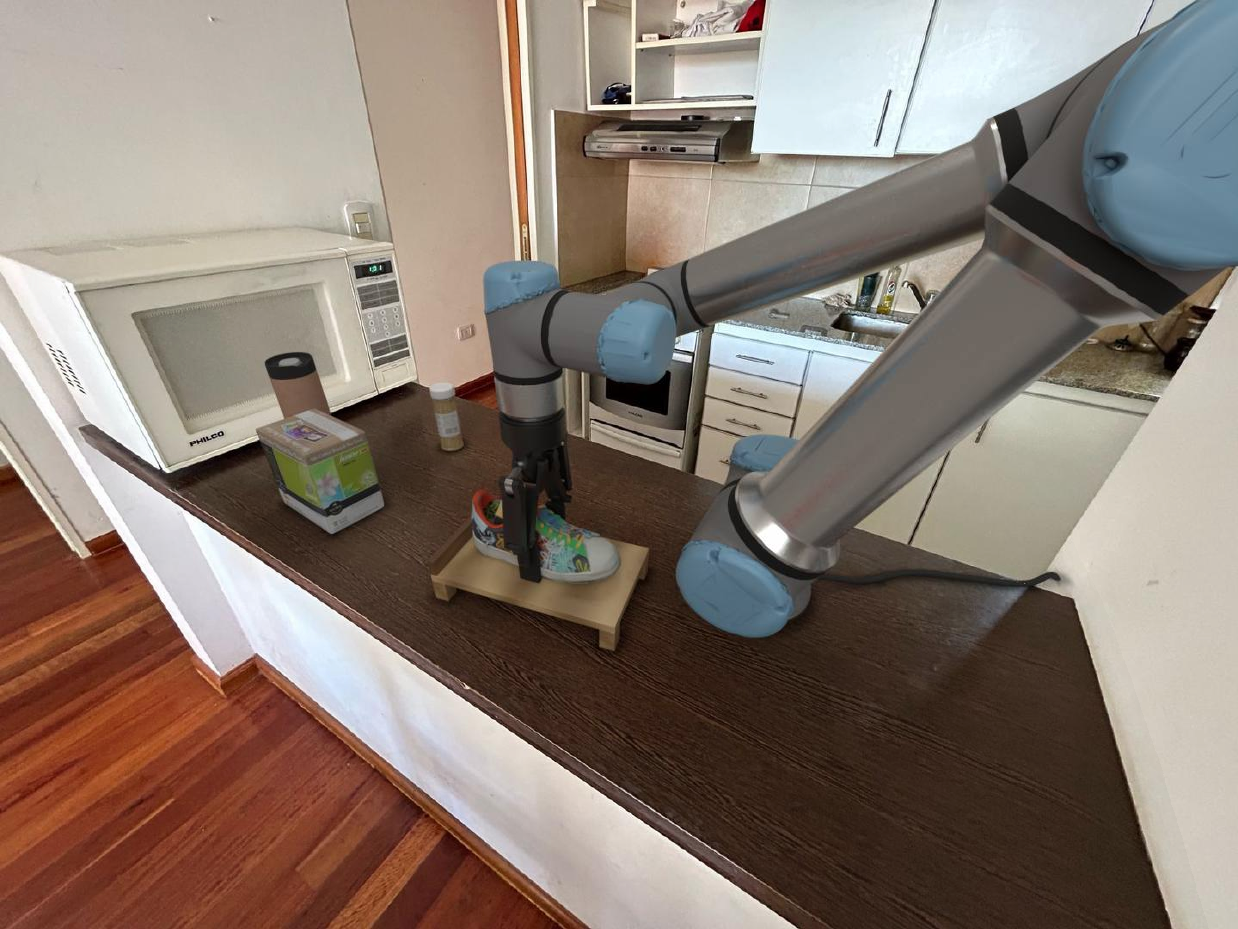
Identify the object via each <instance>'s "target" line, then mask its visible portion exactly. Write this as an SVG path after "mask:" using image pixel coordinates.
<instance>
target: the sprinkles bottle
mask: <svg viewBox="0 0 1238 929" xmlns="http://www.w3.org/2000/svg"><path fill="white" fill-rule="evenodd" d="M428 391H429V397H430V399H431V401H432V406H433V411H434V417H435V422H436V427H437V432H438V436H439V441H440V448H441V450H443V451H446V452H455V451H457V450H460V449H462V448H463V447H464V441H463V435H462V428H461V423H460V422H461V420H460V417H459V413H458V406H457V401H456V390H455V385H454V384H453V383H451V382H447V381H442V382H441V381H440V382H436V383H434V384H432V385H430V386H429V390H428Z"/></svg>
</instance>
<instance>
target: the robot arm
mask: <svg viewBox="0 0 1238 929" xmlns="http://www.w3.org/2000/svg"><path fill="white" fill-rule="evenodd" d="M980 240H983V241H982V244H981V247H980V248H979V249H978V250H977V252H976V253H974V255H973V256H972V257H971V258H970V259H969V260H968V261H967V262H966V263H965V264H964V266H963V267H961V268H960V270H958V271H957V273H956V274H955V275H954V276H953V277H952V278H951V279H950V280H949V281H948V282H947V283H946V284H945V286H944V287H942V288H941V290H940V291H939V292H938V293H937V294H936V295H935V296H934V297H933V298H932V299H931V300H930V301H929V302H928V303H927V305H926V306H924V308H923V309H922V310H921V311H920V312H919V313H918V314H917V315H916V316H915V317H914V318H913V319H912V320H911V321H910V323H908V325H907V326H906V327H905V328H904V329H903V330H902V331H901V332H900V333H899V334H898V335H897V336H896V337H895V338H894V339H893V340H892V341H891V343H890V344H889V345H888V346H887V347H886V348H885V349H884V350H883V351H882V352H881V353H880V354H879V356H877V357H876V358H875V359H874V361H873V362H872V363H871V364H870V365H869V366H868V367H867V368H866V369H865V370H864V371H863V372H862V373H861V374H860V375H859V376H858V378H857V379H855V381H853V383H852V384H851V385H850V386H849V387H848V388H847V389H846V390H845V391H844V392H843V394H842V395H841V396H840V397H839V398H838V399H837V400H836V401H835V402H834V403H833V404H832V405H831V406H830V408H828V409H827V410H826V411H825V412H824V414H823V415H822V416H821V417H819V419H818V420H816V422H815V423H814V424H813V426H811V427H810V428H809V430H808V431H806V433H805V434H804V435H803V436H802V437H801V438H800V439H797V438H793V437H789V436H786V435H785V436H784V435H779V434H765V433H764V434H750V435H747V436H744V437H742V438H740V439H738V440H737V441H736V442H735V443H734V444H733V447H732V450H731V454H730V455H729V456H728V457H729V458H728V460H729V467H728V468H729V470H728V472H727V476H726V479H725V481H724V483H723V484H722V486H721V487H720V490H719V491H718V493H717V494H716V497H715V498H714V499H713V501H712V503H711V504H710V506H709V508H708V509H707V511H706V512H705V513H704V516H703V517H702V519H701V521H700V522H699V524H698V525H697V527H696V529H695V530H694V533H693V534H691V537H690V539H689V540H688V542H687V543H686V544H685V545H684V546H683V547H682V549H681V553H680V557H679V559H678V561H677V564H676V567H675V581H676V583H677V586H678V587H679V591H680V594H681V596H682V599H684V601H685V602H686V604H687V605H688V606H689V607H690V608H691V610H692V611H694V612H695V614H696V615H698V616H699V617H700V618H702V619H703V620H704V621H705V622H707V623H708V624H710V625H712V626H714V627H715V628H717V629H719V630H721V631H724V632H726V633H728V634H734V635H738V636H740V637H744V638H754V639H755V638H756V639H757V638H765V637H769V636H772V635H774V634H777V633H778V632H779V631H781V630H782V629H783V628H784V627H787V626H788V625H792V624H794V623H795V622H797V621H798V620H799V619H801V617H803V615H804V614H805V612H806V611H807V609H808V606H809V603H810V599H811V595H812V584H813V583H814V582H815V581H816V580H817V581H819V580H820V581H829V582H838V583H844V584H850V585H851V584H852V585H866V584H868V585H869V584H875V583H879V582H883V581H888V580H891V579H895V578H901V577H930V578H940V579H946V580H947V579H948V580H955V581H962V582H964V581H965V582H972V583H981V584H988V585H994V586H995V585H996V586H1002V587H1012V588H1013V587H1014V588H1027V587H1034V586H1038V585H1040V584H1043V583H1045V582H1046V581H1048V580H1050V579H1052V580H1054V581H1057V582H1060V581H1061V580H1062V578H1061V576H1060V575H1059V573H1057V572H1055V571H1047V572H1044V573H1041V574H1040V575H1038V576H1035V577H1034V578H1031V579H1023V580H1021V579H1020V580H1017V579H1016V581H1013V580H1014V579H1005V578H1004V579H1003V578H997V577H996V578H995V577H989V576H982V575H975V574H965V573H964V574H963V573H957V572H956V573H955V572H947V571H941V570H940V571H939V570H932V569H931V570H930V569H900V570H893V571H890V572H889V571H888V572H885V573H881V574H877V575H872V576H866V577H865V576H864V577H854V576H853V577H852V576H846V575H840V574H832V573H827V572H828V571H830V570H831V569H832V568H833V567H834V566H835V565H836V564H837V563H838V561H839V558H840V554H841V542H840V539H841V538H842V537H844V536H845V535H847V533H849V532H850V531H851V530H852V529H854V528H855V527H857V525H858V524H860V523H861V522H862V521H864V520H865V519H866V518H868V517H869V516H870V515H871V514H872V513H874V512H875V511H876V510H878V508H880V507H881V506H883V505H884V504H885V503H886V502H887V501H888V500H890V499H891V498H892V497H893V496H895V495H896V494H897V493H899V492H900V491H901V490H902V489H904V488H905V487H906V486H907V485H908V484H910V483H911V482H912V481H913V480H915V479H916V478H917V477H919V476H920V475H921V474H922V473H923V472H925V471H926V470H927V469H928V468H930V467H931V466H932V465H934V464H935V463H936V462H937V461H939V460H940V459H941V458H942V457H943V456H945V455H946V454H947V453H948V452H950V451H951V450H953V449H954V448H955V447H956V446H957V445H959V444H960V443H961V442H962V441H964V440H965V439H966V438H967V437H968V436H970V435H971V434H972V433H974V432H975V431H976V430H977V429H979V428H980V427H981V426H983V425H984V424H985V423H986V422H987V421H988V420H990V419H991V418H992V417H993V416H995V415H996V414H997V413H998V412H1000V411H1001V410H1002V409H1004V408H1005V407H1006V406H1008V404H1010V403H1011V402H1013V400H1015V399H1016V398H1017V397H1019V396H1020V395H1021V394H1022V393H1024V392H1025V391H1026V390H1027V389H1029V388H1030V387H1032V385H1033V384H1035V383H1036V382H1038V380H1040V379H1041V378H1042V377H1043V376H1045V375H1046V374H1047V373H1048V372H1050V371H1051V370H1052V369H1053V368H1055V367H1056V366H1057V365H1058V364H1059V363H1061V362H1062V361H1063V360H1065V359H1066V358H1067V357H1068V356H1070V355H1071V354H1072V353H1074V352H1075V351H1076V350H1077V349H1079V348H1080V347H1081V346H1082V345H1084V343H1086V342H1087V341H1089V340H1090V339H1091V338H1092V337H1093V336H1095V335H1096V334H1097V333H1098V332H1100V331H1102V330H1104V329H1106V328H1108V327H1112V326H1121V325H1131V324H1139V323H1149V322H1156V321H1159V320H1161V318H1162V317H1164V316H1165V315H1167V314H1168V313H1169V312H1171V311H1172V310H1173V309H1174V308H1176V307H1177V306H1178V305H1180V304H1182V302H1183V301H1185V300H1187V299H1188V298H1189V297H1191V296H1193V295H1194V294H1195V293H1196V292H1198V291H1199V290H1200V289H1201V288H1203V287H1204V286H1206V285H1207V284H1208V283H1209V282H1210V281H1212V280H1213V279H1215V278H1217V277H1218V276H1219V275H1220V274H1221V273H1222V272H1224V271H1225V270H1227V269H1228V268H1234V267H1235V268H1236V267H1238V0H1193V1H1192V2H1191V3H1189V4H1187V5H1186V6H1185V7H1183V8H1182V9H1180V10H1178V12H1176V13H1175V14H1174V15H1173V16H1172V17H1171V18H1169V19H1167V20H1165V21H1163V22H1160V23H1159V24H1158V25H1155V26H1153V27H1151V28H1150V29H1147V30H1146V31H1143V32H1142V33H1140V34H1137V35H1136V36H1134V37H1133V38H1131V39H1129V40H1127V41H1126V42H1124V43H1122V44H1121V45H1119V46H1118V47H1116V48H1115V49H1113V50H1112V51H1110V52H1109V53H1107V54H1105V56H1104V55H1103V56H1102V57H1100V59H1097V60H1096V61H1095V62H1093V63H1091V64H1090V65H1088V66H1086V67H1085V68H1084V69H1082V70H1080V71H1078V72H1077V73H1075V74H1074V75H1072V76H1071V77H1068V78H1067V79H1066V80H1064V81H1062V82H1060V83H1058V84H1057V85H1055V86H1052V87H1050V88H1049V89H1047V90H1046V91H1044V92H1042V93H1041V94H1039V95H1037V96H1035V97H1033V98H1031V99H1029V100H1026V101H1024V102H1023V103H1020V104H1018V105H1016V106H1014V107H1012V108H1009V109H1007V110H1005V111H1003V112H1000V113H998V114H996V115H995V114H994V116H991V117H988V118H986V120H985V122H984V123H983V124H982V125H981V127H980V129H979V130H978V131H977V133H976V134H975V136H974V137H973V138H972V139H971V140H968V141H966V142H964V143H962V144H960V145H957V146H954V147H952V148H950V149H947V150H945V151H943V152H941V153H938V154H936V155H933V156H931V157H929V158H926V159H923V160H921V161H918V162H916V163H914V164H912V165H909V166H907V167H905V168H902V169H900V170H898V171H895V172H893V173H890V174H887V175H885V176H883V177H881V178H877V179H876V180H874V181H873V180H872V181H871V182H868V183H865V184H864V185H861V186H859V187H856V188H853V189H852V190H850V191H847V192H844V193H843V194H839V195H838V196H835V197H833V198H831V199H828V200H825V201H823V202H821V203H819V204H815V205H813V206H812V207H808V208H807V209H803V210H802V211H799V212H796V213H794V214H792V215H790V216H788V217H785V218H783V219H780V220H778V221H775V222H773V223H771V224H768V225H766V226H763V227H760V228H759V229H755V230H754V231H751V232H749V233H747V234H745V235H742V236H739V237H737V238H735V239H732V240H730V241H728V242H725V243H722V244H720V245H718V246H716V247H713V248H711V249H708V250H706V251H704V252H702V253H699V254H697V255H694V256H692V257H691V258H688V259H685V260H683V261H680V262H678V263H674V264H672V265H670V266H665V267H662V268H660V269H657V270H655V271H653V272H651V273H650V274H648V275H647V276H645V277H643V278H641V279H639V280H636V281H634V282H632V283H631V282H630V283H629V284H626V285H624V286H623V287H620V288H618V289H615V290H613V291H611V292H609V293H606V294H594V293H587V292H586V293H584V292H576V291H572V290H567V289H563V288H561V281H560V277H559V271H558V269H557V267H556V266H554V264H551V263H547V262H545V261H542V260H541V261H540V260H527V259H526V260H510V261H503V262H499V263H495V264H492V265H490V266H489V267H488V268H486V270H485V272H484V273H483V278H482V282H483V283H482V284H483V300H484V304H483V305H484V309H483V314H484V316H485V321H486V328H487V333H488V340H489V345H490V354H491V359H492V360H491V361H492V369H493V376H494V378H493V380H494V381H493V382H494V385H495V394H496V403H497V408H498V410H499V412H498V422H499V430H500V436H501V437H500V438H501V441H502V443H503V444H504V445H505V446H506V447H507V448H508V449H509V450H510V451H511V452H512V458H511V469H512V470H511V471H510V473H509V475H508V476H505V475H500V476H499V477H498V482H497V484H498V488H499V492H500V494H501V497H502V517H503V541H504V549H507V550H511V551H515V552H517V560H518V564H519V571H520V578H521V579H525V580H528V581H532V582H536V583H540V581H541V580H542V579H541V568H540V557H539V546H538V541H535V540H534V537H535V527H536V518H537V509H538V501H539V497H540V494H542V493H543V492H545V495H546V497H547V499H548V500H546V501H545V502H544V504H545V506H546V508H547V509H549V510H551V511H552V512H553V513H554V514H556V515H560V517H561V518H562V519H563V520H565V521H566V522H567V518H566V504H571V503H572V500H573V495H572V494H567V493H568V492H571V490H572V489H573V482H572V474H571V466H570V457H569V449H568V436H569V434H568V433H569V432H568V430H567V424H566V410H565V407H564V406H565V404H566V397H565V396H566V395H565V381H564V380H565V379H564V369H567V370H570V371H575V372H579V373H583V374H588V375H591V376H597V377H601V378H606V379H610V380H612V381H615V382H618V383H633V384H640V385H652V384H656V383H658V381H660V380H661V379H662V378H663V377H664V376H665V374H666V372H667V368H668V367H669V366H670V365H671V362H672V360H673V357H674V353H675V348H676V342H677V338H680V337H682V336H685V335H688V334H691V333H694V332H698V331H701V330H703V329H706V328H708V327H712V326H713V325H716V324H719V323H723V322H725V321H726V322H727V321H729V320H732V319H736V318H738V317H741V316H744V315H748V314H751V313H754V312H758V311H760V310H764V309H768V308H770V307H773V306H777V305H779V304H782V303H785V302H789V301H792V300H795V299H798V298H802V297H805V296H807V295H810V294H813V293H817V292H820V291H823V290H826V289H829V288H832V287H836V286H839V285H842V284H845V283H849V282H851V281H855V280H858V279H860V278H865V277H867V276H871V275H873V274H876V273H879V272H883V271H886V270H889V269H893V268H895V267H898V266H903V265H905V264H908V263H911V262H914V261H917V260H920V259H924V258H927V257H929V256H933V255H936V254H940V253H943V252H945V251H948V250H952V249H955V248H958V247H961V246H964V245H967V244H970V243H974V242H977V241H980ZM565 503H566V504H565ZM1017 581H1018V582H1017ZM1024 583H1025V584H1024Z"/></svg>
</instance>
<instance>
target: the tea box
mask: <svg viewBox="0 0 1238 929" xmlns="http://www.w3.org/2000/svg"><path fill="white" fill-rule="evenodd" d="M255 432H256V434H257V437H258V440H259V443H260V445H261V447H262V451H263V453H264V455H265V458H266V460H267V463H268V465H269V467H270V470H271V474H272V475H273V478H274V480H275V483H276V485H277V488H278V491H279V493H280V496H281V498H282V501H283V502H284V504H285V505H286V506H289V507H290V508H291V509H293V510H294V511H296V512H298V513H299V514H300V515H302V516H303V517H304V518H306V519H308V520H309V521H311V522H312V523H314V524H315V525H317V526H319V527H320V528H321V529H323V530H324V531H326V533H329V534H330V535H333V534H336V533H338V532H340V531H341V530H344V529H345V528H347V527H350V526H351V525H353V524H355V523H357V522H359V521H361V520H362V519H364V518H366V517H368V516H370V515H372V514H374V513H375V512H377V511H379V510H381V509H383V508H384V507H385V501H384V497H383V493H382V489H381V486H380V483H379V478H378V475H377V472H376V468H375V464H374V463H375V462H374V460H373V456H372V453H371V449H370V445H369V442H368V439H367V438H368V437H367V435H366V434H367V433H366V432H365V431H364V430H363V429H360V428H358V427H356V426H354V425H352V424H350V423H348V422H345V421H343V420H341V419H339V418H337V417H335V416H330V415H328V414H326V413H323V412H321V411H319V410H317V409H311V410H308V411H306V412H303V413H300V414H297V415H294V416H291V417H288V418H285V419H284V418H283V419H280V420H276V421H274V422H271V423H268V424H265V425H263V426H259V427H257V428H255Z"/></svg>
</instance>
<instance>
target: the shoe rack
mask: <svg viewBox="0 0 1238 929" xmlns="http://www.w3.org/2000/svg"><path fill="white" fill-rule="evenodd" d="M471 518H472V514H471V515H469V517H468V518H467V519H466V520H465V521H464V522H463V523H462V525H460V526H459V527H458V528H457V530H455V531H454V532H453V533H452V534H451V536H449V538H448V539H447V540H446V541H444V543H443V544H441V546H440V547H439V548H438V549H437V550H436V551H435V552H434V553H433V554H432V555H431V556H430V557H429V558H428V559H427V560H426V561H427V566H428V570H429V574H430V577H431V582H432V586H433V590H434V594H435V598H436V599H439V600H443V601H446V602H449V601H451V599H452V598H453V597H454V596H455V594H456V593H457V589H458V590H462V591H465V592H470V593H472V594H476V595H480V596H483V597H486V598H490V599H492V600H496V601H500V602H504V603H507V604H510V605H514V606H517V607H521V608H524V609H528V610H531V611H535V612H538V613H541V614H545V615H548V616H552V617H555V618H558V619H562V620H566V621H569V622H571V623H572V622H573V623H575V624H579V625H582V626H585V627H590V628H593V629H595V630H599V632H598V633H599V642H598V644H599V648H603V649H606V650H609V651H612V652H615V651H616V649H617V646H618V644H619V642H620V631H621V630H620V629H621V620H622V618H623V616H624V613H625V611H626V609H627V606H628V604H629V603H630V600H631V597H632V595H633V592H634V590H635V588H636V586H637V584H638V581H639V580H643V581H644V580H645V579H646V576H647V574H648V572H649V561H650V560H649V558H650V548H649V547H645V546H640V545H636V544H632V543H629V542H624V541H620V540H615V539H611V538H608V537H603V536H601V538H603V539H605V540H607V541H609V542H610V543H612V544H613V545H614V546H615V547H616V548H617V550H618V551H619V554H620V558H621V565H620V567H619V569H618V570H617V571H616V572H615V573H614V574H613V575H612V576H610V577H609V578H607V579H604V580H601V581H598V582H593V583H583V584H575V583H565V582H556V581H551V580H547V579H544V578H542V577H541V579H542V580H541V581H540V583H536V582H532V581H528V580H525V579H521V578H520V571H519V566H517V565H514V564H511V563H509V562H506V561H503V560H500V559H495V558H492V557H489V556H487V555H484V554H483V553H482V552H480V551H479V550H478V549H477V548H476V546H475V544H474V541H473V529H472V519H471Z"/></svg>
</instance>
